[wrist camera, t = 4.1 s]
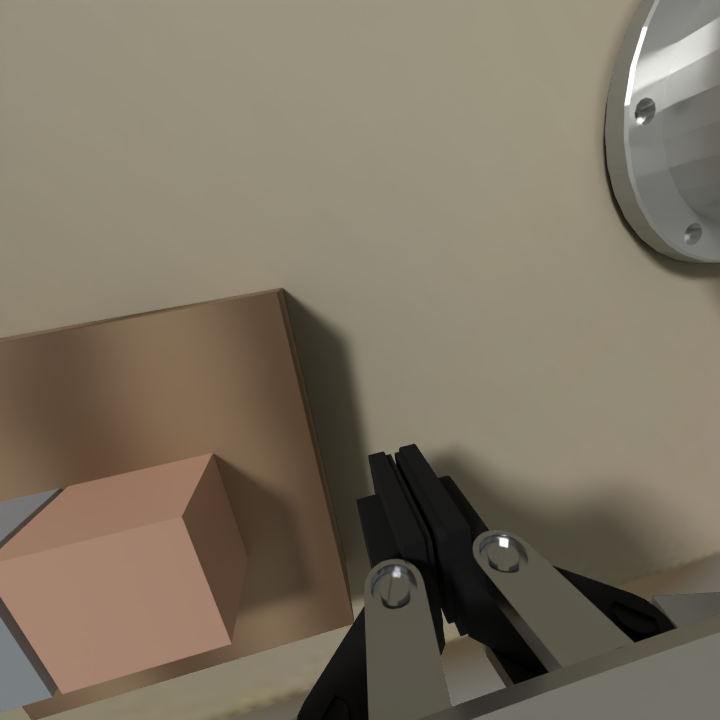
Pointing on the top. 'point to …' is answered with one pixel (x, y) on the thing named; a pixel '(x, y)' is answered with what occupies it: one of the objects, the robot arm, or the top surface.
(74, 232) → the top surface
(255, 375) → the square wooden board
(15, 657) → the tile slate
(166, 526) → the salmon pink block
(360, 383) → the top surface
